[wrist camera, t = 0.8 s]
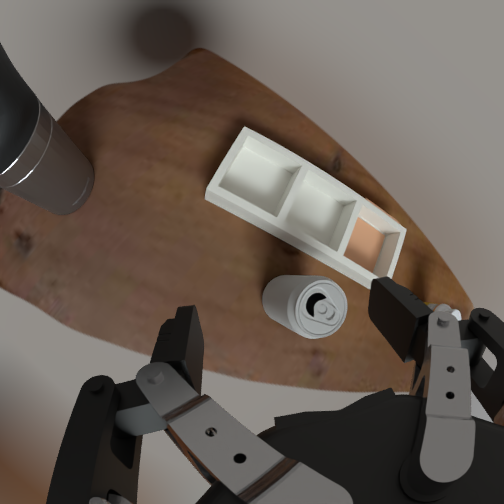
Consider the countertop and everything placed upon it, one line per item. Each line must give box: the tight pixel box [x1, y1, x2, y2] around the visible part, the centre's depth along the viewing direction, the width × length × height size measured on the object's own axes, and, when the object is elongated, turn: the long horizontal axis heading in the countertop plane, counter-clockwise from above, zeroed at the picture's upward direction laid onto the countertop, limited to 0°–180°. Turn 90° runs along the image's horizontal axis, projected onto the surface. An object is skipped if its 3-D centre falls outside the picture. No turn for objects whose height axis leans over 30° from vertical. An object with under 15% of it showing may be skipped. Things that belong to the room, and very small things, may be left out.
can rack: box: [205, 126, 406, 289], centre depth 36 cm, size 28×10×4 cm, turn 64°
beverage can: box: [262, 275, 347, 339], centre depth 31 cm, size 6×6×12 cm
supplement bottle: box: [424, 302, 461, 321], centre depth 37 cm, size 5×5×10 cm
